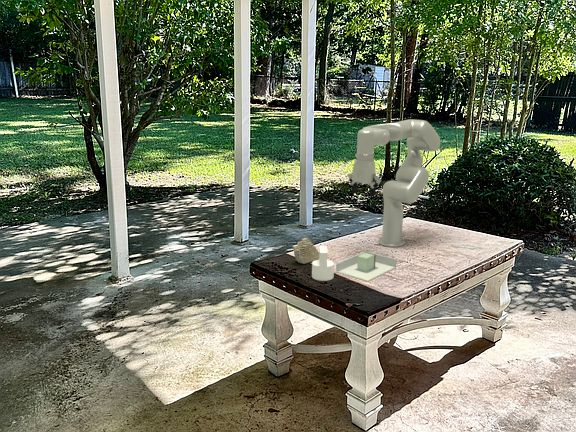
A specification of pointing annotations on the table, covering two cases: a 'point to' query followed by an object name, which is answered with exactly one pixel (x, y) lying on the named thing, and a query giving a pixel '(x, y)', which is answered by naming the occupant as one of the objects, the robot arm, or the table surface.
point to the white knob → (322, 266)
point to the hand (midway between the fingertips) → (363, 195)
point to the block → (366, 261)
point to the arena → (381, 267)
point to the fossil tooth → (306, 251)
